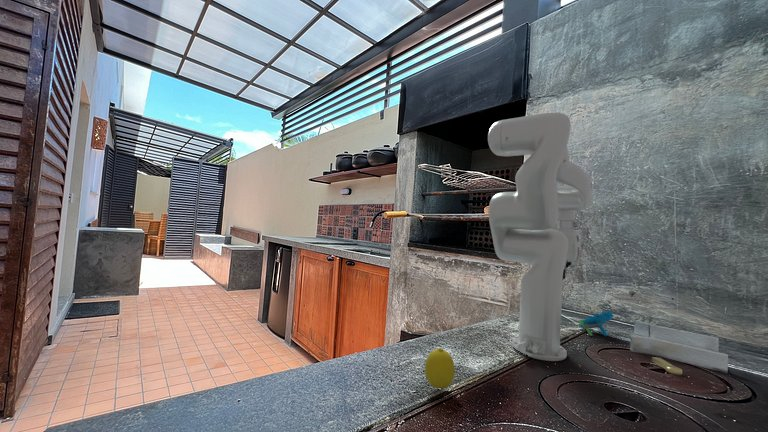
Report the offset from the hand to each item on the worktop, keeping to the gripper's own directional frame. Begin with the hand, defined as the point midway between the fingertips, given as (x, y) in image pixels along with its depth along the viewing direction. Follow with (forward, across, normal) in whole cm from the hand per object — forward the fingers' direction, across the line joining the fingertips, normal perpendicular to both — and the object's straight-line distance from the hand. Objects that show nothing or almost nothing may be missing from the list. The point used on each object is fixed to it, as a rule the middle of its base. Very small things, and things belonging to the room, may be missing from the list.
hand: (559, 280), depth 103 cm
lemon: (+13, +6, +65) cm, 66 cm away
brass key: (+14, -26, +16) cm, 34 cm away
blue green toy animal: (+15, -10, +1) cm, 18 cm away
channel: (+14, -28, +1) cm, 32 cm away
